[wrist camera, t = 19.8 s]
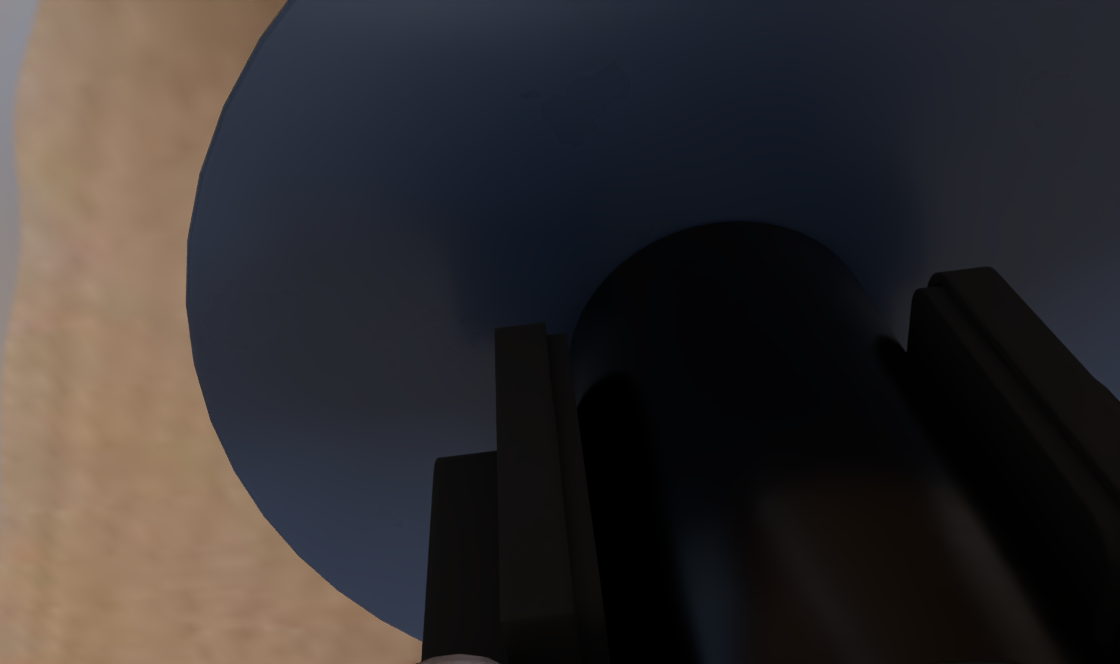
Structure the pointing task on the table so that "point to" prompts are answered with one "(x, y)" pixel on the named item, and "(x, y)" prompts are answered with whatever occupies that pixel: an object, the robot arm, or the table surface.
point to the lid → (663, 296)
